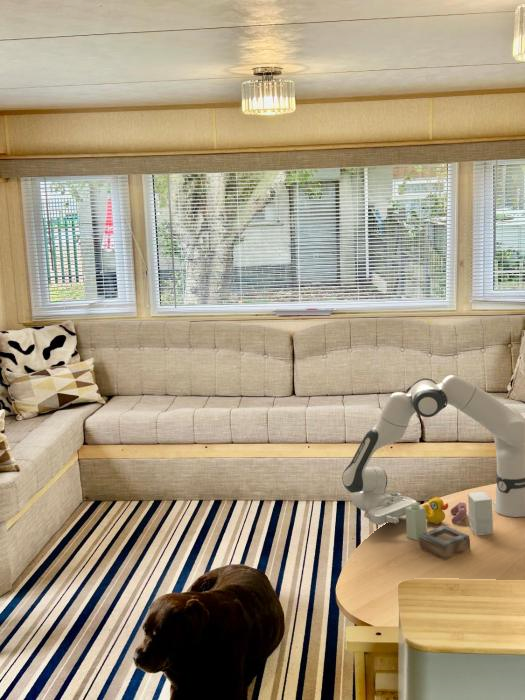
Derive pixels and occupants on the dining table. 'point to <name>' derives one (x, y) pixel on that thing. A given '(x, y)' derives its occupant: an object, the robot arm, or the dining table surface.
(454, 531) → the gray square frame
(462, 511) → the video game controller
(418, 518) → the tower brick
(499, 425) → the robot arm
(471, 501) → the small box
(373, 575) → the dining table surface
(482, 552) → the dining table surface
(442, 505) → the duckling
